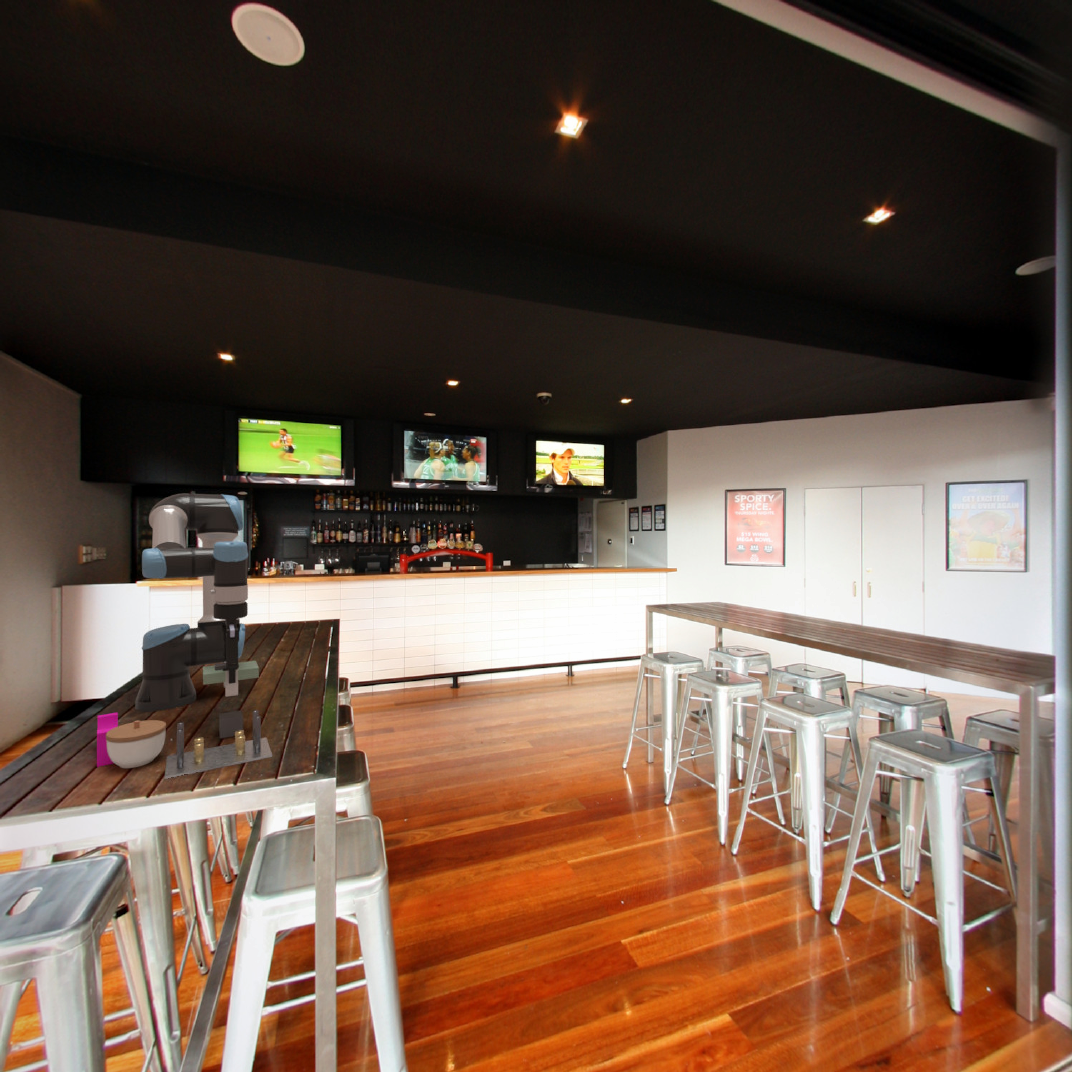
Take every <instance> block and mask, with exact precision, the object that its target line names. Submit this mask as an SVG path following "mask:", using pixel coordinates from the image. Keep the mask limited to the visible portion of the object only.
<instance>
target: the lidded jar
mask: <svg viewBox="0 0 1072 1072" xmlns="http://www.w3.org/2000/svg"><path fill="white" fill-rule="evenodd" d="M166 728H167V723H166V721H163V720H157V719H152V720H151V719H150V720H148V719H147V720H138V719H137V720H134V721H133V722H129V723H125V724H122V725H121V724H120V725H118V727H115V728H113V729H111V730H109V731H108V732H107V733H106V740H107V752H108V755H109V757H110V759H111V760H112V762H114V763H113V764H115V765H117V766H119V768H121V769H133V768H139V767H142V766H145V765H147V764H149V763H151V762H153V761H154V759H156V757H158V755H159V754H160V753H161V752H162V750H163V748H164V744H165V741H166V735H167V734H166V730H167V729H166Z"/></svg>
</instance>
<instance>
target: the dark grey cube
mask: <svg viewBox="0 0 1072 1072" xmlns="http://www.w3.org/2000/svg"><path fill="white" fill-rule="evenodd" d="M242 711H243V710H234V711H228V712H223V713H219V714H218V715H219V719H218V720H219V721H218V723H219V727H218V728H219V729H218V730H219V731H218V732H219V739H227V738H232V737H235V732H236V731H238V730H244V715H243V712H242Z"/></svg>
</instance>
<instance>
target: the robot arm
mask: <svg viewBox="0 0 1072 1072" xmlns="http://www.w3.org/2000/svg"><path fill="white" fill-rule="evenodd" d="M148 523H149V526H150V527H151V528H152V543H151V544H152V545H151V548H145V549H143V551H142V555H141V568H142V569H141V571H142V573H141V574H142V576H143V578H146V579H160V580H161V579H171V578H186V577H187V578H189V577H191V578H193V577H202V611H203V612H202V617H201V618H200V619H198V621H197V622H196V623H197V627H190V625H189V623H176V624H171V625H166V626H165V625H164V626H160V627H156V628H154V629H150V630H148V631H147V632H146V633H145V634H144V635H143V637H142V647H141V650H142V682H141V685H140V688H139V690H138V693H137V696H136V698H135V702H134V705H135V710H136V711H139V712H160V711H167V710H166V709H168V710H173V709H177V708H176V707H178V708H181V706H182V707H185V706H187V705H186V704H188V705H190V704H192V703H194V702H195V701H196V700H197V691H196V688H195V686H194V684H193V681H192V679H191V677H190V667H194V666H195V667H196V666H202V665H203V666H204V665H211V664H212V665H213V664H218V663H226V668H223V671H225V682H223V688H225V690H224V691H225V692H224V693H225V697H235V696H239V680H238V668H239V665H238V663H239V659H240V658H241V656H242V654H243V651H244V646H245V638H246V624H244V623H241V622H240V619H243V618H245V617H247V616H248V609H249V608H248V607H249V606H248V602H247V600H248V598H249V597H248V596H249V584H248V557H249V552H248V545H247V542H245V541H235V539H236V538H237V537H239V532H240V531H242V530H244V517H243V510H242V506H241V502H240V500H239V498H238V497H237V496H235V495H230V494H222V493H221V494H213V493H212V494H210V493H209V494H208V493H207V494H206V493H177V494H172V495H170V496H168V497H165V498H163V499H162V500H160V501H158V502H157V503H156V504H155V505H154V506H153V507H152V509H151V510H150V512H149V515H148ZM186 531H196V537H197V538H198V539H199V540H201V542H202V544H201V546H202V547H188V548H187V546H186V544H187V543H186ZM184 705H185V706H184Z"/></svg>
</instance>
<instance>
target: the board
mask: <svg viewBox="0 0 1072 1072" xmlns="http://www.w3.org/2000/svg"><path fill="white" fill-rule="evenodd" d="M238 665H239V668H238V681H241V680H249V679H257V678H259V677H260V676H259V675H260V671H259V670H260V667H259V665H258V663H257V660H250V661H243V662H238ZM223 668H226V663H223V662H222V663H214V665H206V666H202V683H203V685H205V686H206V685H210V684H211V685H212V684H218V683H219V684H220V683H224V682H225V671H223Z"/></svg>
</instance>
